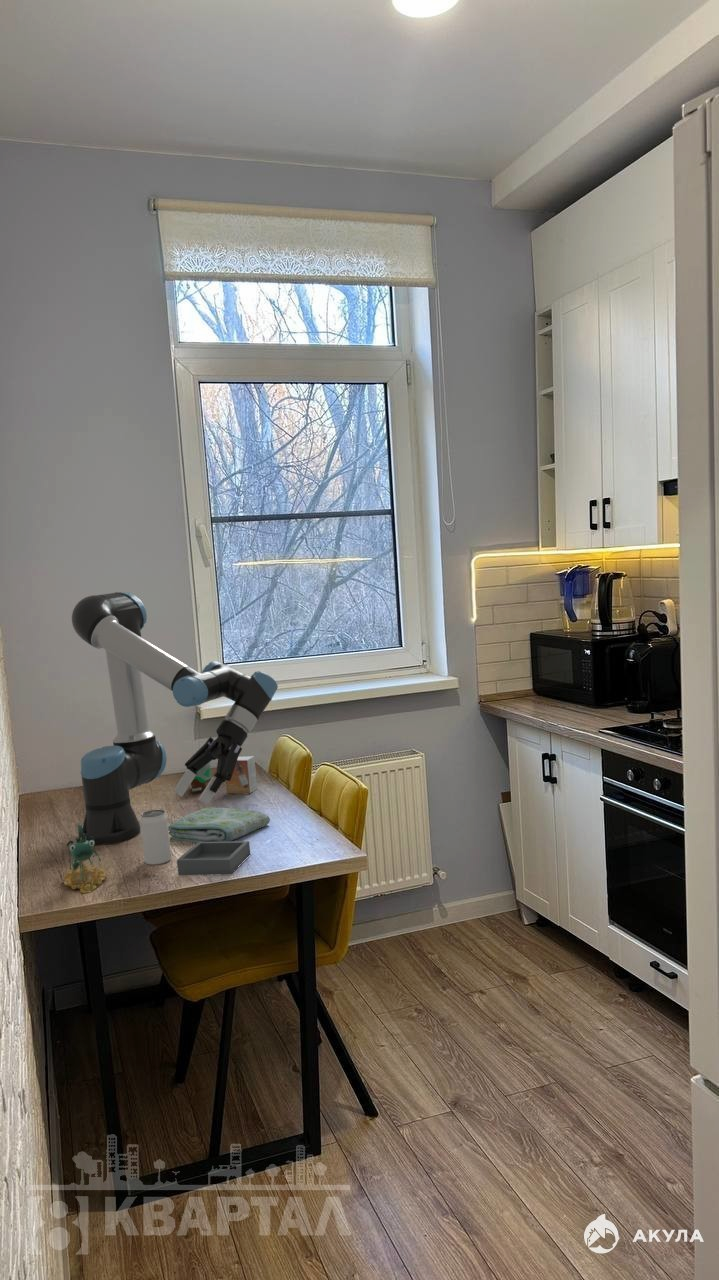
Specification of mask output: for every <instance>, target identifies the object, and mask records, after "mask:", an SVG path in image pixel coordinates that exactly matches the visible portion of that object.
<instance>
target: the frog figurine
mask: <svg viewBox="0 0 719 1280" xmlns="http://www.w3.org/2000/svg"><path fill="white" fill-rule="evenodd" d="M77 831H78V837H75V842H74V841H73V840H69V841H68V842H67V844H66V847H69V853H68V854H69V856H68V857H69V860H68V863H69V870H68V871H66V874H65V877H63V881H64V882H63V884H64V885H65V886H68V887H69V888H71V889H72V890H75V889H78V890H79V893H81V894H87V893H91V892H93V891H95V890H96V889H97V888H98V887H100V886H101V884H103V881H104V880H105V879H107V878H108V875H106V874H105V872H104V869H103V868H97V867H94V866H91V865H93V864H94V860H93V859H91V857H93V858H95V857H98V860H99V862H101V861H102V859H101V858H100V855H99V853H97V852H96V851H95V850H94V848H93V847H94V846H95V845H96V844H95V842H94V840H95V838H94V837H92V836H90V837H89V839H93V840H90V841H87V839H86V837H84V838H83V825H82V824H81V823H78V825H77ZM71 856H72V858H73V859H74V860H72V861H71ZM87 860H89V863H90V864H91V865H89V864H87V863H86V864H83V862H85V861H87Z"/></svg>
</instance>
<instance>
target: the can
mask: <svg viewBox="0 0 719 1280" xmlns="http://www.w3.org/2000/svg"><path fill="white" fill-rule="evenodd" d="M140 816H141V817H140V820H139V825H140V834H141V844H142V850H143V860H144V863H145V864H146V865H148V866H159V865H163V864H166V863H169V862H170V861H171V859H172V850H171V849H172V847H171V840H170V834H169V832H170V831H169V830H168V827H169V824H168V817H167V815H166V813H165V810H164V809H151V810H147V811H144V812H142V813H141V814H140Z"/></svg>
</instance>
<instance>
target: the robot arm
mask: <svg viewBox="0 0 719 1280" xmlns="http://www.w3.org/2000/svg"><path fill="white" fill-rule="evenodd" d="M71 613H72V614H71V623H72V624H71V625H72V627H73V630H74V631H75V633H76V635H78V637H80V639H81V640H83V641H84V642H86V643H87V644H88V645H90V646H91V647H93V648H94V649H99V650H100V649H104V650H105V655H106V663H107V669H108V670H107V671H108V675H109V683H110V689H111V690H110V692H111V696H112V697H111V698H112V704H113V710H114V717H115V719H114V720H115V724H116V731H117V733H116V736H115V737H114V738H113V740H112V743H113V745H108V746H103V747H100V748H95V749H93V750H91V751H88V752H86V754H84V755H83V756H82V757H81V760H80V775H81V782H82V788H83V789H82V791H83V797H84V805H85V815H84V818H83V819H84V820H83V825H82V829H83V838H84V837H86V839H87V841H90V840H93V839H89V837H90V836H92V837H94V838H95V840H94V842H95V845H108V844H116V843H120V842H124V841H128V840H130V839H132V838H134V837H136V836H138V835H139V834H141V826H140V821H139V820H138V817H137V815H136V813H135V811H134V810H133V809H134V808H133V807H132V805H131V798H130V797H131V795H130V791H129V790H132V789H135V788H137V787H140V786H141V785H144V784H149V783H151V782H152V781H154V780H156V779H157V778H159V777H160V776H161V775H162V773H164V771H165V768H166V765H167V761H168V760H167V759H168V758H167V756H168V755H167V751H166V749H165V747H164V745H162V743H161V742H160V741H159V740H157V738H156V733H155V732H153V731H152V730H150V728H149V721H148V715H147V708H146V701H145V700H146V699H145V694H144V693H145V692H144V687H143V679H142V673H143V674H144V675H146V676H147V677H149V678H150V679H152V680H154V681H155V682H157V683H158V684H160V685H162V686H164V687H165V688H167V689H168V690H170V691H172V695H173V698H174V699H175V701H176V703H177V704H178V705H180V706H181V707H185V708H189V707H197V706H199V705H202V704H205V703H207V702H210V701H214V700H217V699H220V698H222V697H224V698H227V699H229V700H232V702H233V704H232V705H231V707H230V708H229V710H228V712H227V713H226V715H225V717H224V720H222V721H221V722H220V724H219V726H218V727H217V729H216V734H217V737H216V739H214V738H212V737H211V736H210V737H209V738H207V740H206V742H205V743H204V744H203V745H202V746H201V747H200V748H199V749H198V750H196V752H195V753H194V754H192V756H191V757H190V758H189V759H188V760H187V761H186V762H185V763H184V766H185V767H186V770H185V772H184V774H183V775H182V776H181V778H180V779H179V781H178V782H177V784H176V785H175V787H174V788H173V790H172V791H173V792H174V793H176V795H178V796H180V797H184V794H185V793H186V791H187V790H188V789H189V787H190V786H191V782H192V781H193V779H194V778H195V776H196V775H197V771H198V770H200V769H201V768H202V767H204V766H205V765H206V764H208V763H209V762H210V761H215V760H217V764H216V773H214V774H213V776H212V777H211V780H210V782H209V783H208V785H207V786H206V788H205V789H204V791H203V792H201V793H200V796H198V801H200V802H202V803H203V804H204V805H205V806H209V804H210V802H211V801H212V799H213V798H214V796H215V794H216V793H217V791H218V790H219V788H220V787H221V786H222V784H223V783H226V780H227V781H230V780H231V778H232V775H233V771H234V768H235V765H236V762H237V759H238V757H240V756H239V755H241V752H242V750H243V748H242V746H243V745H244V743H245V741H246V739H247V738H248V734H250V733H251V731H252V729H253V728H254V729H255V725H256V723H257V722H258V720H259V718H260V717H261V715H262V714H263V713H264V712H265V710H266V708H267V707H268V705H269V704H270V702H272V700H273V698H274V695H276V692H277V691H278V683H277V681H276V680H275V679H274V678H273V677H272V676H271V675H269V674H267V673H266V672H263V671H258V670H257V671H254V672H253V674H251V676H250V675H247V674H245V673H242V672H241V671H238V670H236V669H234V668H232V667H231V666H229V665H228V664H225V663H222V662H220V661H216V660H214V661H210V662H209V663H208V664H206V665H205V666H204V668H203V670H201V671H202V672H199V671H197V670H195V669H193V668H192V667H190V666H188V665H187V664H185V663H184V662H182V661H181V660H179V659H177V658H176V657H174V656H172V655H170V654H169V653H167V652H166V651H164V650H162V649H161V648H160V647H157V646H156V645H154V644H152V643H151V642H149V641H148V640H146V639H145V638H143V637H142V633H141V631H142V629H143V628H144V627H145V624H146V623H147V620H148V615H147V609H146V607H145V605H144V603H143V602H142V600H141V599H140V598H138V597H137V596H136V595H135V594H133V593H130V592H126V591H125V592H124V591H121V592H118V591H116V592H110V593H105V594H97V595H96V594H95V595H89V596H86V597H83V598H82V599H81V600H80V601H78V602H77V604H75V606H74V608H73V609H72V612H71ZM227 773H228V774H227Z"/></svg>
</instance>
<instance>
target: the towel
mask: <svg viewBox="0 0 719 1280" xmlns="http://www.w3.org/2000/svg"><path fill="white" fill-rule="evenodd" d="M270 822H271V819H270V816H269V815H268V814H266V813H264V812H261V811H259V810H252V809H251V810H250V809H238V808H225V807H214V806H213V807H212V806H211V807H204V808H201V809H198V810H196V811H194V812H191V813H188V814H186V815H184V816H183V817H181V818H179V819H177V820H175V821H173V822H172V823H171V824H168V830H169V836H170V837H171V840H176V841H182V842H183V841H185V842H192V843H198V842H224V841H233V840H234V839H235V840H236V839H239V837H240V838H241V836H242V837H244V836H245V835H246V836H247V835H248V834H250V832H251V833H253V832H255V831H257V829H258V830H260V829H261V827H262V828H264V826H265V827H266V826H267V825H268V824H270ZM259 828H260V829H259ZM252 831H253V832H252ZM235 840H234V841H235Z"/></svg>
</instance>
